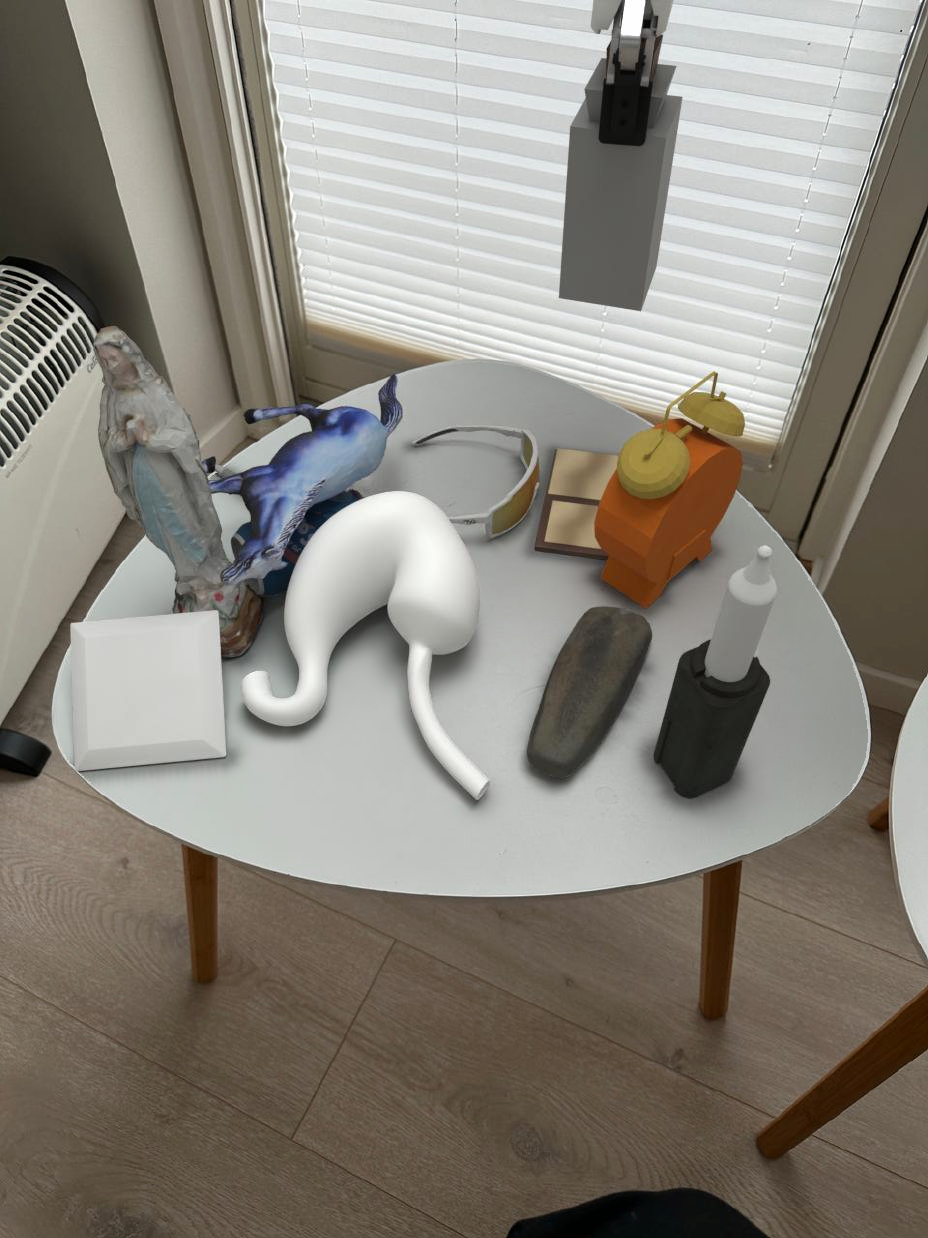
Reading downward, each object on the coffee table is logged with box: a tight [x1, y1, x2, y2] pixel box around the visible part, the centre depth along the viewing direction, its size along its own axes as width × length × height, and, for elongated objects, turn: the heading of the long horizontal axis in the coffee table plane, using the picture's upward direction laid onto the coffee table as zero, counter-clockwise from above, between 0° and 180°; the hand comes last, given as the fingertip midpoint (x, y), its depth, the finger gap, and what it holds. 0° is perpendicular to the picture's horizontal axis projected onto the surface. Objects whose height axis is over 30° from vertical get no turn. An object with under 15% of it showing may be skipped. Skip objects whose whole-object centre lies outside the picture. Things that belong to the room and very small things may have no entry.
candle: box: [653, 545, 778, 799], centre depth 64 cm, size 5×5×25 cm
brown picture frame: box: [534, 447, 619, 561], centre depth 92 cm, size 7×14×1 cm, turn 168°
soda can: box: [230, 488, 365, 597], centre depth 85 cm, size 7×7×12 cm
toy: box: [201, 373, 404, 585], centre depth 82 cm, size 8×28×15 cm
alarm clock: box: [594, 370, 746, 610], centre depth 80 cm, size 13×6×20 cm, turn 135°
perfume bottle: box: [558, 34, 684, 312], centre depth 70 cm, size 7×7×18 cm
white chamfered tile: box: [69, 610, 227, 772], centre depth 77 cm, size 12×12×5 cm
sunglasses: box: [411, 424, 540, 538], centre depth 93 cm, size 14×15×5 cm
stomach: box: [240, 490, 491, 801], centre depth 76 cm, size 23×13×24 cm
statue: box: [92, 325, 266, 658], centre depth 72 cm, size 8×7×30 cm
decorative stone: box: [525, 605, 653, 778], centre depth 76 cm, size 17×6×4 cm, turn 154°
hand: (627, 115), depth 67 cm, fingers closed on perfume bottle, 7 cm apart
